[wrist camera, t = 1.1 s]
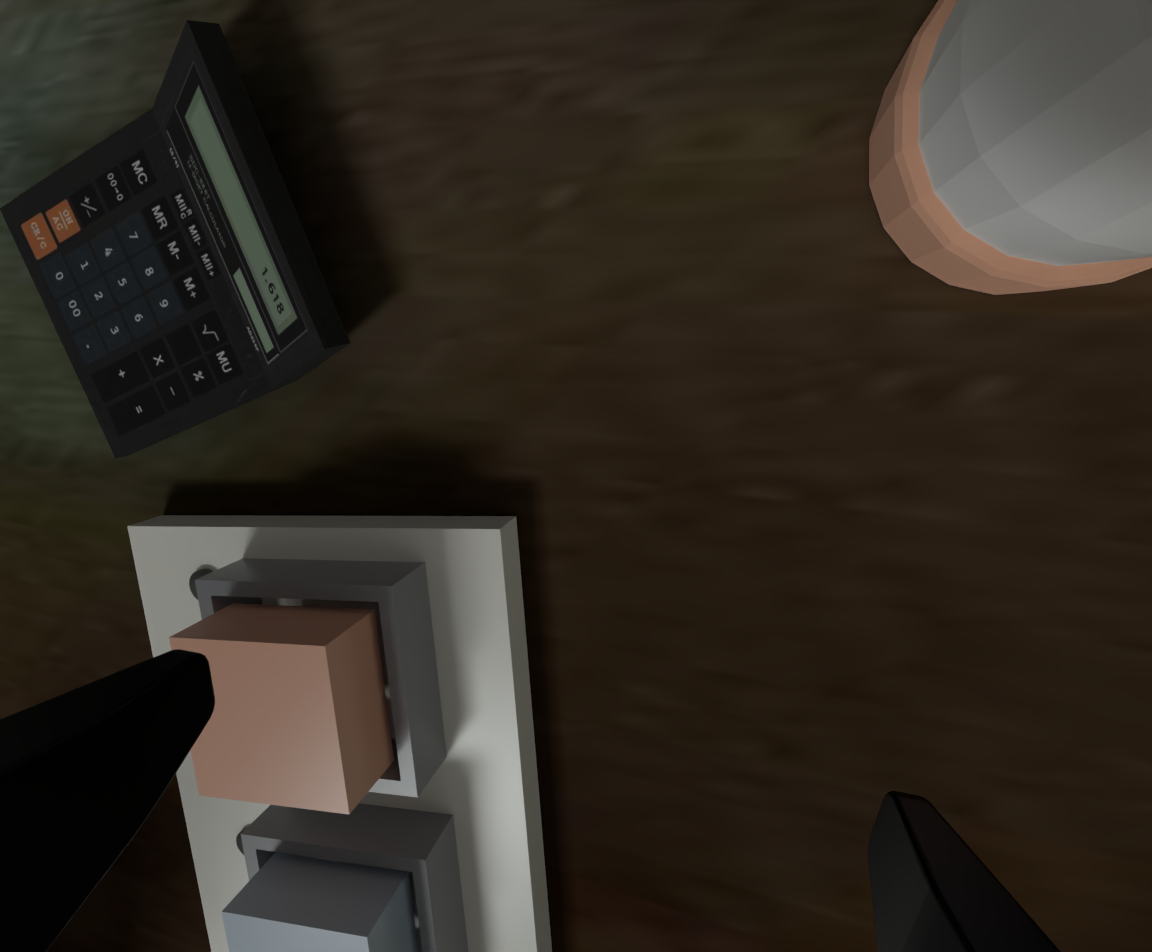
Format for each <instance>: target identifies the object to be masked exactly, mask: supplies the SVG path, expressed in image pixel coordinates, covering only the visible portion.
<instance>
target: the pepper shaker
mask: <svg viewBox="0 0 1152 952" xmlns="http://www.w3.org/2000/svg"><path fill="white" fill-rule="evenodd" d="M869 186H870V189H871V192H872V195H873V198H874V201H875V204H876V207H877V210H878V213H879V216H880V219H881V222H882V225H883V228H884V229H885V230H886V231H887V233H888V234H889V235H890V236H891V238H892V239H893V240H894V241H895V243H896V244H897V245H898V246H899V248H900V249H901V250H902V251H903V253H904V254H905V255H906V256H907V258H908V259H909V260H910V261H911V262H912V263H914V264H916V265H917V266H919V267H920V268H922V269H924V270H925V271H927V272H929V273H930V274H932V275H934V276H935V277H937V278H939V279H940V280H942V281H944V282H945V283H947V284H949V285H952V286H957V287H961V288H966V289H971V290H975V291H980V292H984V293H989V294H993V295H1001V294H1013V293H1026V292H1038V291H1049V290H1057V289H1065V288H1072V287H1080V286H1088V285H1096V284H1103V283H1111V282H1114V281H1116V280H1119V279H1122V278H1125V277H1127V276H1130V275H1133V274H1136V273H1138V272H1141V271H1144V270H1147V269H1150V268H1152V0H938V2H937V3H936V5H935V6H934V8H933V9H932V11H931V12H930V14H929V15H928V17H927V18H926V20H925V21H924V23H923V25H922V26H921V28H920V29H919V31H918V32H917V34H916V35H915V37H914V38H913V40H912V42H911V44H910V46H909V47H908V49H907V51H906V53H905V55H904V56H903V58H902V60H901V62H900V63H899V65H898V67H897V69H896V71H895V72H894V74H893V76H892V78H891V80H890V81H889V83H888V85H887V87H886V89H885V91H884V94H883V97H882V100H881V103H880V107H879V110H878V113H877V116H876V119H875V122H874V125H873V129H872V132H871V135H870V141H869Z"/></svg>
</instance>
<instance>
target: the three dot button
mask: <svg viewBox="0 0 1152 952" xmlns="http://www.w3.org/2000/svg"><path fill="white" fill-rule="evenodd" d="M169 640H170V646H171V650H175V649H182V650H187V651H192V652H197V653H201V654H203V655H205V656H206V658H207V659H208V661H209V665H210V671H211V677H212V683H213V689H214V695H215V707H214V711H213V713H212V716H211V718H210V720H209V721H208V723H207V725H206V726H205V728H204V729H203V731H202V733H201V734H200V736H199V737H198V739H197V741H196V742H195V744H194V745H193V747H192V748H191V755H192V760H193V766H194V771H195V776H196V781H197V786H198V792H199V796H207V797H215V798H223V799H230V800H238V801H246V802H254V803H262V804H270V805H278V806H286V807H294V808H302V809H309V810H317V811H325V812H333V813H341V814H350V813H351V812H352V811H353V810H354V808H355V807H356V806H357V805H358V803H359V802H360V801H361V800H362V799H363V797H364V796H365V795H366V794H367V793H368V791H369V790H370V789H371V788H372V787H373V785H374V784H375V783H376V782H377V781H378V779H379V778H380V777H381V776H382V774H383V773H384V772H385V771H386V770H387V768H388V767H389V766H390V765H391V764H392V762H393V761H394V755H393V747H392V739H391V732H390V724H389V716H388V708H387V700H386V692H385V685H384V677H383V669H382V661H381V653H380V645H379V638H378V630H377V622H376V614H375V609H359V608H335V607H311V606H286V605H262V604H238V603H233V604H231V605H229V606H227V607H225V608H223V609H221V610H219V611H218V612H216V613H214V614H212V615H210V616H208V617H206V618H204V619H202V620H201V621H199V622H197V623H195V624H193V625H191V626H189V627H187V628H185V629H184V630H182V631H180V632H178V633H176V634H174V635H172V636H170V637H169Z"/></svg>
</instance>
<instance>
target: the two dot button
mask: <svg viewBox="0 0 1152 952" xmlns="http://www.w3.org/2000/svg"><path fill="white" fill-rule="evenodd" d="M222 917H223V922H224V927H225V933H226V938H227V943H228V948H229V952H419V951H418V943H417V935H416V927H415V920H414V912H413V904H412V896H411V888H410V880H409V873H408V872H407V871H400V870H393V869H386V868H379V867H373V866H366V865H359V864H352V863H345V862H339V861H332V860H325V859H318V858H311V857H305V856H298V855H291V854H284V853H277V852H275V853H274V854H273V855H272V857H271V858H270V859H269V860H268V861H267V862H266V863H265V864H264V865H263V866H262V868H261V869H260V870H259V871H258V872H257V873H256V874H255V875H254V876H253V877H252V879H251V880H250V881H249V882H248V883H247V884H246V885H245V886H244V887H243V888H242V890H241V891H240V892H239V893H238V894H237V895H236V896H235V897H234V898H233V899H232V901H231V902H230V903H229V904H228V905H227V906H226V907H225V908H224V909H223V910H222Z"/></svg>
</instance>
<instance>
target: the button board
mask: <svg viewBox="0 0 1152 952" xmlns="http://www.w3.org/2000/svg"><path fill="white" fill-rule="evenodd" d="M127 527H128V532H129V537H130V542H131V547H132V552H133V557H134V562H135V567H136V572H137V577H138V582H139V587H140V592H141V597H142V602H143V607H144V613H145V618H146V623H147V628H148V633H149V638H150V643H151V648H152V653H153V658H154V657H156V656H159V655H161V654H163V653H166V652H168V651H171V646H170V640H169V637H170V636H172V635H174V634H176V633H178V632H180V631H182V630H184V629H185V628H187V627H189V626H191V625H193V624H195V623H197V622H199V621H201V620H202V619H204V618H206V617H208V616H210V615H212V614H214V613H216V612H218V611H219V610H221V609H223V608H225V607H227V606H229V605H231V604H233V603H238V604H262V605H286V606H311V607H335V608H359V609H375V614H376V622H377V630H378V638H379V645H380V653H381V661H382V669H383V677H384V685H385V692H386V700H387V708H388V716H389V724H390V732H391V739H392V747H393V755H394V761H393V762H392V764H391V765H390V766H389V767H388V768H387V770H386V771H385V772H384V773H383V774H382V776H381V777H380V778H379V779H378V781H377V782H376V783H375V784H374V785H373V787H372V788H371V789H370V790H369V791H368V793H367V794H366V795H365V796H364V797H363V799H362V800H361V801H360V802H359V803H358V805H357V806H356V807H355V808H354V810H353V811H352V812H351V813H350V814H341V813H333V812H325V811H317V810H309V809H302V808H294V807H286V806H278V805H270V804H262V803H254V802H246V801H238V800H230V799H223V798H215V797H207V796H199V792H198V786H197V781H196V776H195V771H194V766H193V760H192V755H191V750H190V752H189V753H188V755H187V756H186V758H185V760H184V761H183V763H182V764H181V766H180V768H179V769H178V771H177V772H176V774H177V780H178V785H179V790H180V795H181V800H182V805H183V810H184V815H185V820H186V825H187V830H188V835H189V840H190V845H191V850H192V855H193V860H194V866H195V871H196V876H197V881H198V886H199V891H200V896H201V901H202V906H203V911H204V916H205V921H206V926H207V931H208V936H209V941H210V946H211V952H229V948H228V943H227V938H226V933H225V927H224V922H223V917H222V910H223V909H224V908H225V907H226V906H227V905H228V904H229V903H230V902H231V901H232V899H233V898H234V897H235V896H236V895H237V894H238V893H239V892H240V891H241V890H242V888H243V887H244V886H245V885H246V884H247V883H248V882H249V881H250V880H251V879H252V877H253V876H254V875H255V874H256V873H257V872H258V871H259V870H260V869H261V868H262V866H263V865H264V864H265V863H266V862H267V861H268V860H269V859H270V858H271V857H272V855H273V854H274V853H275V852H277V853H284V854H291V855H298V856H305V857H311V858H318V859H325V860H332V861H339V862H345V863H352V864H359V865H366V866H373V867H379V868H386V869H393V870H400V871H407V872H408V873H409V880H410V888H411V896H412V904H413V912H414V920H415V927H416V935H417V943H418V951H419V952H552V944H551V932H550V920H549V908H548V895H547V883H546V871H545V859H544V847H543V835H542V823H541V811H540V798H539V786H538V774H537V762H536V750H535V738H534V726H533V714H532V702H531V689H530V677H529V665H528V653H527V641H526V629H525V617H524V605H523V592H522V580H521V568H520V556H519V544H518V532H517V520H516V516H255V515H161V516H158V517H155V518H152V519H149V520H146V521H142V522H139V523H136V524H133V525H130V526H127Z"/></svg>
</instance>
